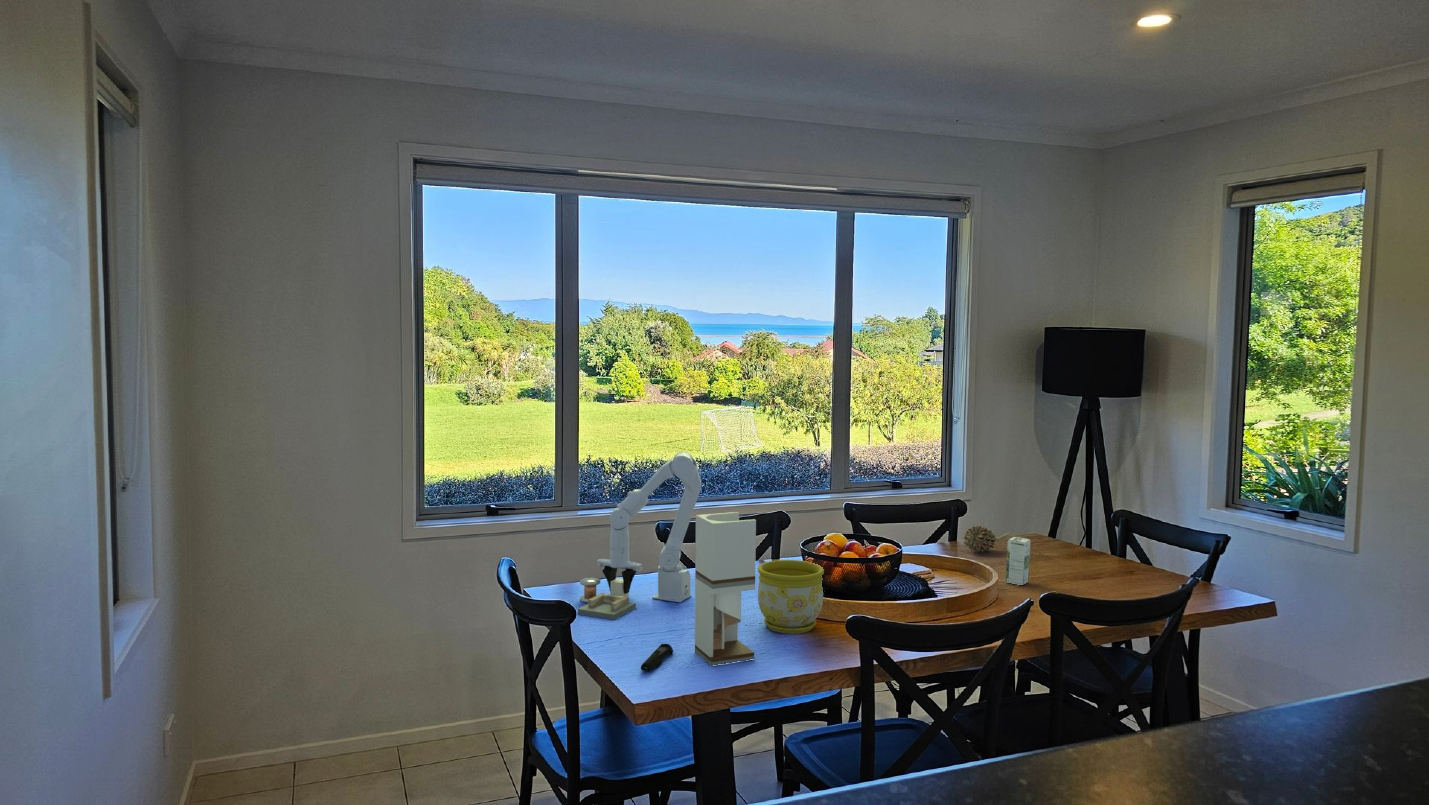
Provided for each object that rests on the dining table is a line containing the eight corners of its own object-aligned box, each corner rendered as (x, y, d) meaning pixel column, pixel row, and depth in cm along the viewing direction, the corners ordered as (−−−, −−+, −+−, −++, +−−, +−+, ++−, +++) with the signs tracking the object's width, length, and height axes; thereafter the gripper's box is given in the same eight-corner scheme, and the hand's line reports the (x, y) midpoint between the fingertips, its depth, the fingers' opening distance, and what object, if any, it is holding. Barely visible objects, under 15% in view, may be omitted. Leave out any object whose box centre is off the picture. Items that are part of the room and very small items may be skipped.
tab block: (628, 596, 278) (628, 579, 278) (622, 599, 275) (622, 583, 274) (617, 594, 280) (617, 578, 280) (610, 597, 276) (610, 581, 276)
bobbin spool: (604, 598, 275) (604, 579, 274) (593, 604, 269) (593, 584, 269) (587, 596, 277) (587, 576, 277) (576, 601, 272) (576, 581, 271)
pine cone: (976, 557, 329) (977, 530, 329) (956, 552, 338) (957, 525, 337) (1017, 549, 341) (1018, 523, 341) (996, 544, 349) (997, 519, 349)
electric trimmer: (636, 675, 216) (636, 662, 216) (660, 652, 230) (660, 640, 230) (651, 677, 215) (651, 664, 214) (674, 654, 229) (674, 642, 229)
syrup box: (1011, 579, 300) (1012, 536, 299) (1029, 582, 297) (1030, 538, 296) (1005, 583, 295) (1006, 539, 294) (1023, 586, 292) (1025, 542, 291)
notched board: (635, 608, 266) (635, 596, 266) (614, 619, 255) (614, 607, 255) (600, 602, 271) (600, 591, 271) (578, 614, 260) (577, 602, 260)
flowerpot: (786, 612, 264) (787, 556, 262) (836, 627, 251) (837, 568, 249) (743, 626, 251) (744, 567, 250) (793, 642, 238) (794, 580, 237)
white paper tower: (711, 667, 220) (712, 523, 217) (694, 652, 230) (695, 515, 227) (754, 660, 225) (755, 520, 222) (736, 646, 234) (737, 511, 232)
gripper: (591, 548, 275) (592, 592, 277) (634, 553, 270) (634, 598, 271) (604, 543, 282) (604, 586, 283) (645, 548, 276) (645, 592, 277)
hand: (619, 592), depth 277 cm, fingers open, 4 cm apart
